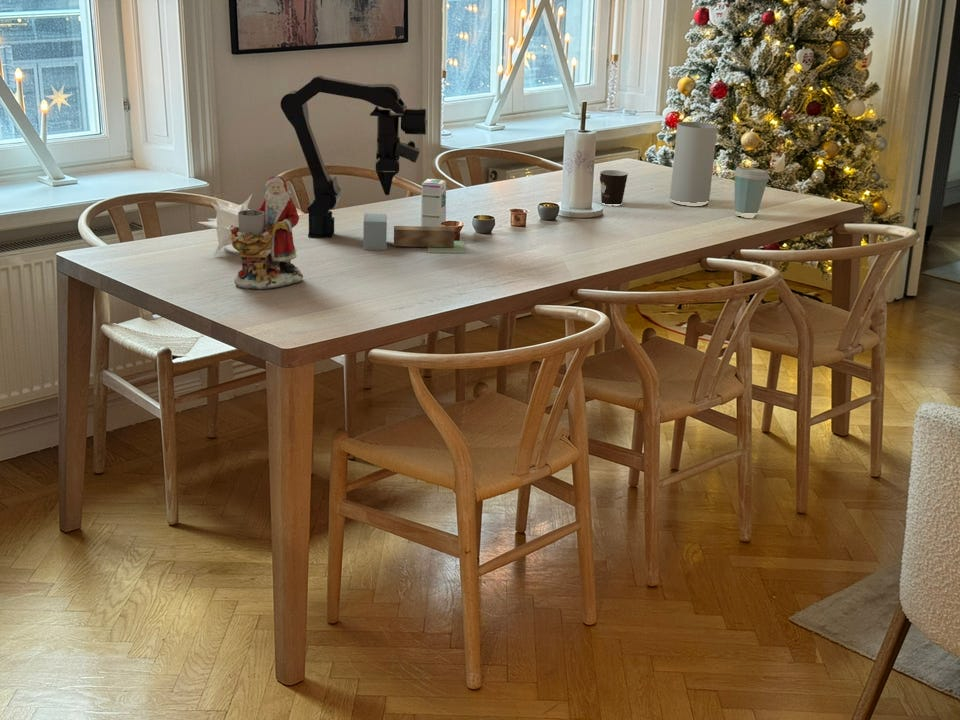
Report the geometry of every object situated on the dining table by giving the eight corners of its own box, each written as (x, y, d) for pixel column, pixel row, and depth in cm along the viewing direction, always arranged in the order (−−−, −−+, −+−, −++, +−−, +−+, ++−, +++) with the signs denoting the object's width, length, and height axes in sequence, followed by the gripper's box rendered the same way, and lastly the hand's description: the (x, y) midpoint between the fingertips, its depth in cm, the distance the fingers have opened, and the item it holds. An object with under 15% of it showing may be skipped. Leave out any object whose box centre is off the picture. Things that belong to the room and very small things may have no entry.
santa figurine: (238, 293, 271) (235, 186, 262) (226, 276, 283) (222, 174, 274) (309, 287, 277) (308, 183, 268) (294, 271, 289) (292, 171, 280)
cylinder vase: (665, 198, 384) (672, 121, 376) (702, 198, 386) (710, 122, 377) (675, 207, 373) (683, 127, 364) (713, 207, 374) (722, 128, 366)
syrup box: (440, 235, 328) (442, 183, 322) (420, 233, 329) (421, 182, 324) (445, 230, 333) (447, 179, 328) (425, 228, 334) (426, 178, 329)
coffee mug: (626, 207, 369) (629, 176, 366) (599, 206, 369) (601, 175, 366) (622, 199, 380) (625, 168, 376) (596, 198, 380) (598, 167, 376)
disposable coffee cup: (732, 210, 371) (737, 163, 366) (766, 215, 368) (772, 167, 362) (726, 217, 362) (731, 169, 356) (761, 222, 358) (767, 173, 353)
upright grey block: (363, 249, 310) (363, 221, 307) (364, 240, 318) (364, 213, 316) (386, 250, 311) (386, 222, 308) (386, 241, 319) (386, 213, 316)
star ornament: (186, 250, 304) (184, 194, 299) (230, 242, 314) (228, 188, 310) (238, 263, 292) (236, 206, 287) (281, 254, 303) (280, 198, 298)
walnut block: (393, 246, 313) (394, 229, 311) (393, 242, 317) (394, 225, 315) (453, 247, 314) (454, 230, 313) (453, 243, 318) (453, 227, 316)
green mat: (428, 252, 310) (428, 251, 310) (426, 240, 321) (426, 240, 321) (466, 253, 311) (466, 252, 311) (463, 241, 322) (463, 240, 322)
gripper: (419, 140, 304) (417, 199, 310) (417, 128, 322) (416, 184, 327) (375, 139, 303) (375, 198, 309) (376, 127, 321) (376, 183, 326)
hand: (387, 191), depth 318 cm, fingers open, 9 cm apart
